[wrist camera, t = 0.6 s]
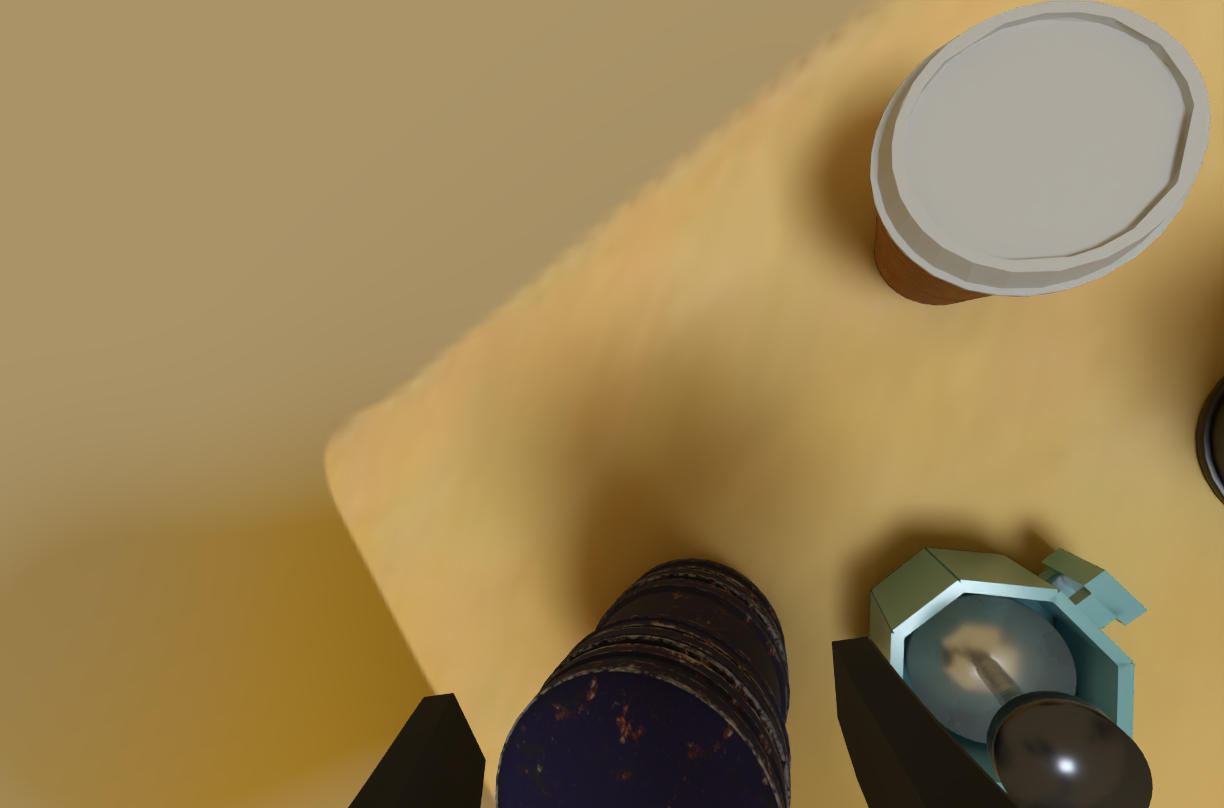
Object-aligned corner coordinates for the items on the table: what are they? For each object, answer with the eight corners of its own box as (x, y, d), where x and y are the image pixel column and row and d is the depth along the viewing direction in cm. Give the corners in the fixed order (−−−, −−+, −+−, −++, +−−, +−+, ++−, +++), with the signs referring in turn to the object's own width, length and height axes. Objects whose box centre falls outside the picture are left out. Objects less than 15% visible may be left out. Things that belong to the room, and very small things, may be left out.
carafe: (1139, 629, 27) (1235, 687, 21) (957, 755, 29) (1001, 840, 23) (995, 491, 29) (1048, 511, 23) (833, 619, 31) (845, 666, 25)
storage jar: (604, 706, 34) (475, 915, 20) (623, 541, 34) (507, 634, 20) (777, 754, 32) (773, 1037, 17) (799, 575, 31) (812, 711, 17)
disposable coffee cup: (953, 374, 29) (1063, 349, 18) (803, 263, 32) (814, 177, 20) (1097, 221, 28) (1319, 86, 16) (928, 115, 30) (1019, -71, 18)
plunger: (1109, 683, 24) (1260, 807, 17) (983, 769, 26) (1069, 922, 18) (989, 563, 26) (1077, 627, 18) (874, 650, 27) (911, 745, 19)
